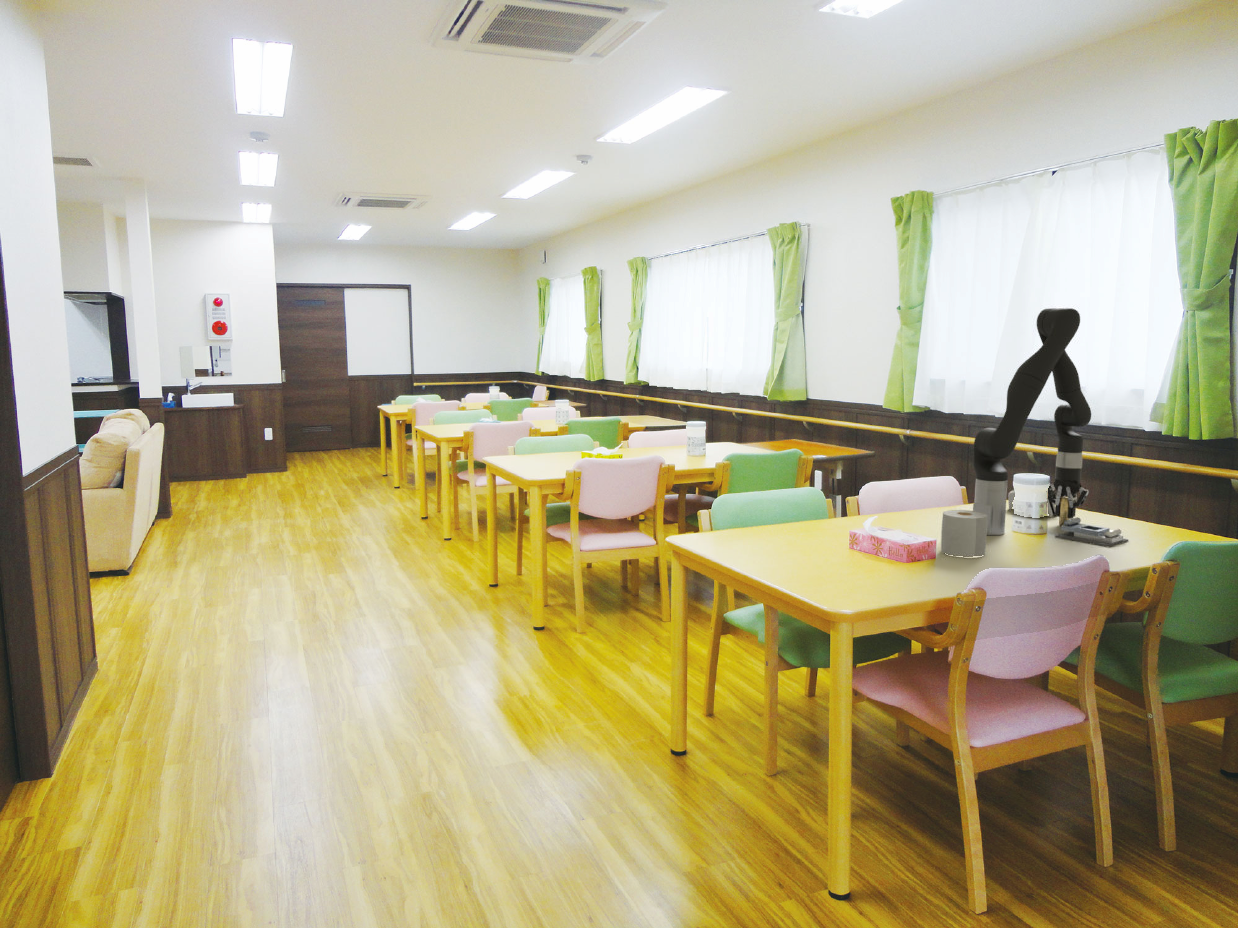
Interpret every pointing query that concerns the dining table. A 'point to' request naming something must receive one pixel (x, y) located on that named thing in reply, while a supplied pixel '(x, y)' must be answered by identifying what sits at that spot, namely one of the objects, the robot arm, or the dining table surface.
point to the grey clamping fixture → (1092, 531)
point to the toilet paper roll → (963, 533)
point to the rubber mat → (1070, 536)
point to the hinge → (1050, 505)
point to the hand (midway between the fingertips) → (1064, 517)
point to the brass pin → (1063, 510)
